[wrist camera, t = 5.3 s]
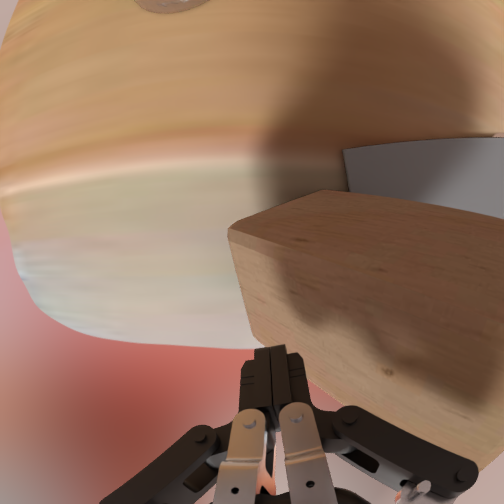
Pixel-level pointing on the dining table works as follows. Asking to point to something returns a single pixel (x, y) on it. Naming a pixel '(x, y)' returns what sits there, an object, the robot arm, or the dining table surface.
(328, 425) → the robot arm
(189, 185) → the dining table surface
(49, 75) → the dining table surface
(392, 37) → the dining table surface
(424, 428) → the wooden block
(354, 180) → the rubber mat
